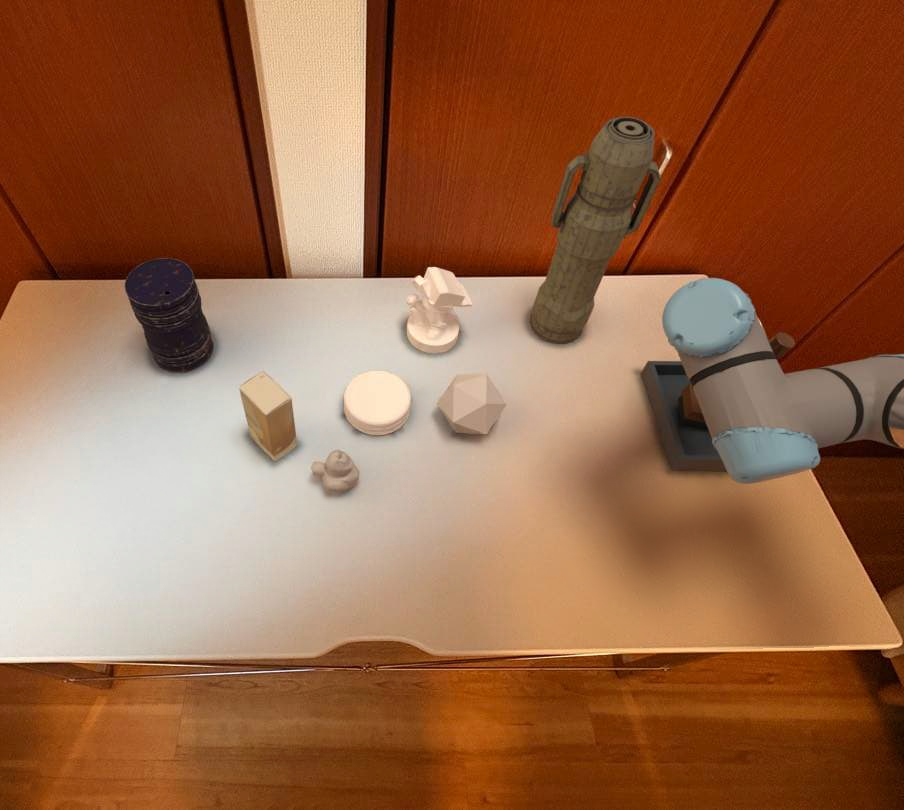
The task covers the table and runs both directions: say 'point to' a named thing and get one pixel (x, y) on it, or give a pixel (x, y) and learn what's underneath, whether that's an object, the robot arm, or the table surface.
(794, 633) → the table surface
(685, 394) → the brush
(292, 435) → the cosmetic box
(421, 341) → the character figurine
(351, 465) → the rubber duck
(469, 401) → the die
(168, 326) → the dark blue cylinder
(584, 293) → the thermos
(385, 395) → the coaster
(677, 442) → the tray
